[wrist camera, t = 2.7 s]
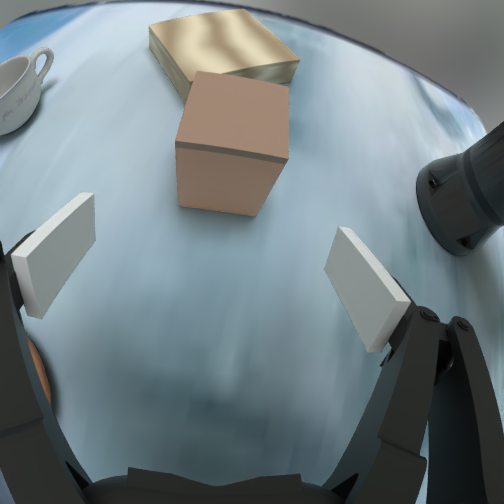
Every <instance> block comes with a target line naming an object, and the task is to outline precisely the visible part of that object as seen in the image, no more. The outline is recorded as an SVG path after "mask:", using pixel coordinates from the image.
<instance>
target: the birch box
mask: <svg viewBox="0 0 504 504" xmlns="http://www.w3.org/2000/svg"><path fill="white" fill-rule="evenodd" d="M149 47H150V49H151V51H152V52H153V54H154V55H155V57H156V58H157V60H158V61H159V63H160V64H161V66H162V67H163V69H164V71H165V72H166V74H167V75H168V77H169V78H170V80H171V81H172V83H173V85H174V86H175V88H176V89H177V91H178V92H179V94H180V95H181V97H182V99H183V100H184V102H185V103H186V102H187V99H188V96H189V93H190V89H191V86H192V83H193V80H194V77H195V74H196V72H197V71H203V72H212V73H219V74H226V75H232V76H238V77H244V78H250V79H255V80H260V81H265V82H270V83H274V84H281V83H287V82H291V80H292V78H293V75H294V73H295V71H296V68H297V66H298V64H299V62H300V59H299V58H298V57H297V56H296V55H295V54H294V53H293V52H292V51H291V50H290V49H289V48H288V47H287V46H286V45H285V44H284V43H283V42H282V41H281V40H279V39H278V38H277V37H276V36H275V35H274V34H273V33H272V32H271V31H269V30H268V29H267V28H266V27H265V26H264V25H263V24H261V23H260V22H259V21H258V20H257V19H255V18H254V17H253V16H252V15H251V14H249V13H248V12H247V11H246V10H244V9H236V10H227V11H218V12H211V13H204V14H198V15H192V16H187V17H182V18H177V19H172V20H167V21H163V22H159V23H155V24H151V25H149Z"/></svg>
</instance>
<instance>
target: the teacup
mask: <svg viewBox="0 0 504 504" xmlns="http://www.w3.org/2000/svg"><path fill="white" fill-rule="evenodd" d="M41 54H46V56H47V59H46V62H45V65H44V67H43V68H42V70H41V71H40V73H39V74H38V75H37V74H36V71H35V69H36V60H37V58H38V57H39V56H40V55H41ZM53 59H54V55H53V52H52V50H51V49H50V48H47V47H41V48H39V49H37V50H36V51H35V52H34V53H33V54H32V56H31V57H29V56H28V55H19V56H15V57H13V58H11V59H9V60H7V61H5V62H3V63H2V64H0V135H3V134H7V133H10V132H13V131H14V130H16V129H18V128H19V127H21V126H22V125H23V124H24V123H25V122H26V121H27V120H28V119H29V118H30V116H31V115H32V113H33V112H34V110H35V108H36V106H37V104H38V102H39V99H40V95H41V86H40V85H41V84H42V83H43V79H44V77H45V75H46V74H47V72H48V70H49V69H50V67H51V65H52V63H53Z"/></svg>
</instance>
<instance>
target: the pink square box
mask: <svg viewBox="0 0 504 504" xmlns="http://www.w3.org/2000/svg"><path fill="white" fill-rule="evenodd" d="M175 150H176V173H177V190H178V205H179V206H183V207H191V208H198V209H206V210H213V211H220V212H227V213H234V214H241V215H248V216H254V217H256V216H257V214H258V212H259V210H260V209H261V207H262V205H263V203H264V201H265V200H266V198H267V196H268V194H269V193H270V191H271V189H272V187H273V185H274V184H275V182H276V180H277V178H278V177H279V175H280V173H281V171H282V169H283V168H284V166H285V164H286V162H287V161H288V159H289V87H288V86H283V85H279V84H274V83H270V82H265V81H260V80H255V79H250V78H244V77H238V76H232V75H226V74H219V73H212V72H203V71H197V72H196V74H195V77H194V80H193V83H192V86H191V89H190V93H189V96H188V99H187V102H186V105H185V108H184V112H183V115H182V118H181V122H180V125H179V129H178V132H177V136H176V140H175Z"/></svg>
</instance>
